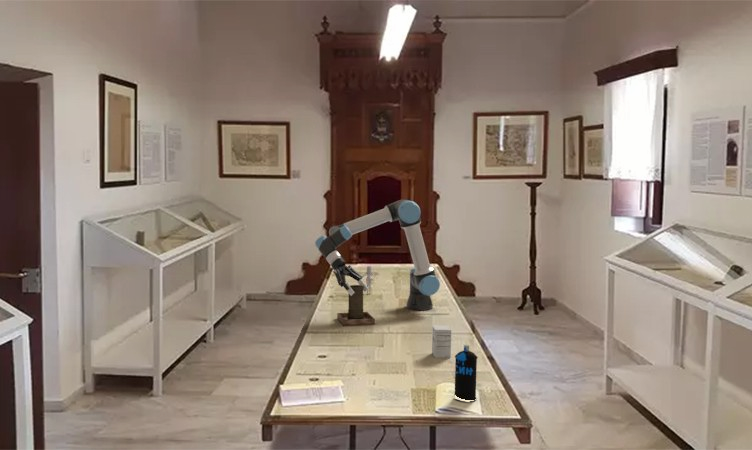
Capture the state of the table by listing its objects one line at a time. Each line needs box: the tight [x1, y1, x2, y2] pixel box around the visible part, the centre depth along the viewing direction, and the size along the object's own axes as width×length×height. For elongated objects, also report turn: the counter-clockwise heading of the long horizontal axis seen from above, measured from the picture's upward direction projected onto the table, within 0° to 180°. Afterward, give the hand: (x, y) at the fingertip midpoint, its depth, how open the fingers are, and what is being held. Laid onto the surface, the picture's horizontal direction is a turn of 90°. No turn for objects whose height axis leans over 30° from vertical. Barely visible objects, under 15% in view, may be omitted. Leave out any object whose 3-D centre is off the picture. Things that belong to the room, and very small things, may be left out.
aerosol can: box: [454, 344, 479, 401], centre depth 265 cm, size 8×8×20 cm
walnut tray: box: [336, 311, 376, 327], centre depth 382 cm, size 17×17×3 cm
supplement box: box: [431, 325, 452, 359], centre depth 320 cm, size 7×7×13 cm
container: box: [347, 284, 364, 320], centre depth 381 cm, size 9×9×18 cm
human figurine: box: [362, 265, 379, 295], centre depth 452 cm, size 12×4×18 cm, turn 97°
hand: (359, 292), depth 379 cm, fingers open, 13 cm apart
